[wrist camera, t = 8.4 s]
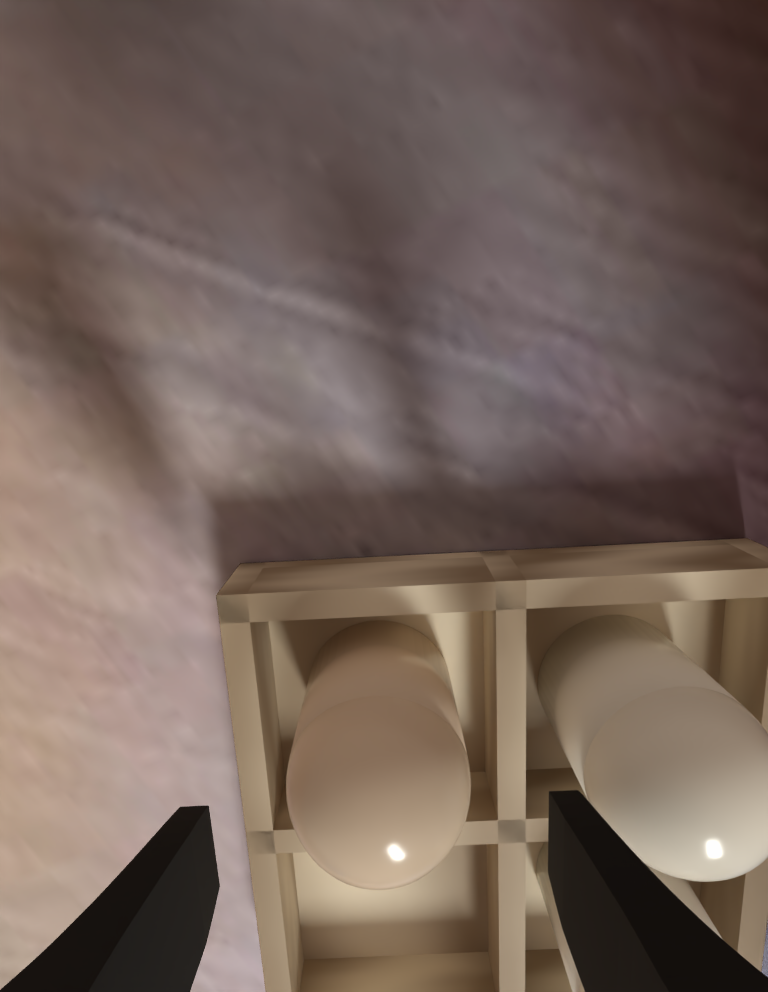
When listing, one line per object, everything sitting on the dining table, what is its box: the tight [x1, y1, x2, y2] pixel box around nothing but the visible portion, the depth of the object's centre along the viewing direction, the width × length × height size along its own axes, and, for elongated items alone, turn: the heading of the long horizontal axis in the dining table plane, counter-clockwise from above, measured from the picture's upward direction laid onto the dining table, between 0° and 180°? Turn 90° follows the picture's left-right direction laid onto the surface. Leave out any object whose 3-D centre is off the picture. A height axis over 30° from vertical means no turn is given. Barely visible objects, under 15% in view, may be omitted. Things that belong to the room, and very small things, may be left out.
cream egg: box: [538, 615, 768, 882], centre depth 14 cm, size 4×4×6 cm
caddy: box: [216, 538, 768, 992], centre depth 17 cm, size 15×15×2 cm
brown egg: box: [286, 620, 471, 890], centre depth 14 cm, size 4×4×6 cm
